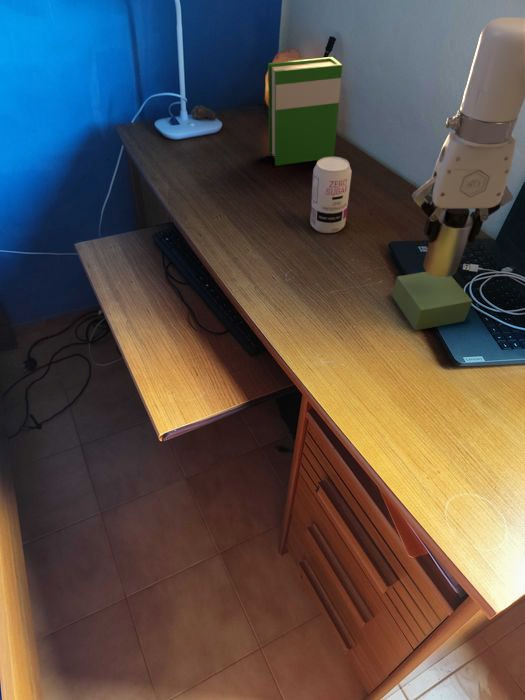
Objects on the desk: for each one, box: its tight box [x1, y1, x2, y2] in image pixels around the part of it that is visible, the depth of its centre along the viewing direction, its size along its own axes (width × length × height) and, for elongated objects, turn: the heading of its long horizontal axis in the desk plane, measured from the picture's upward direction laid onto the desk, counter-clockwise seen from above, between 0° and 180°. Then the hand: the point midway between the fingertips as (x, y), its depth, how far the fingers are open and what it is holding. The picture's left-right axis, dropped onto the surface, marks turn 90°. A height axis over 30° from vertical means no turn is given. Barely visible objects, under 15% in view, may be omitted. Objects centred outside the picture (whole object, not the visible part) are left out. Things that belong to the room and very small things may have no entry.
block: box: [392, 271, 473, 331], centre depth 87 cm, size 10×10×5 cm
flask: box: [422, 208, 474, 277], centre depth 78 cm, size 6×6×11 cm
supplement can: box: [309, 156, 353, 234], centre depth 105 cm, size 8×8×15 cm
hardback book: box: [267, 56, 343, 167], centre depth 128 cm, size 18×7×24 cm, turn 105°
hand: (449, 237), depth 78 cm, fingers closed on flask, 5 cm apart
